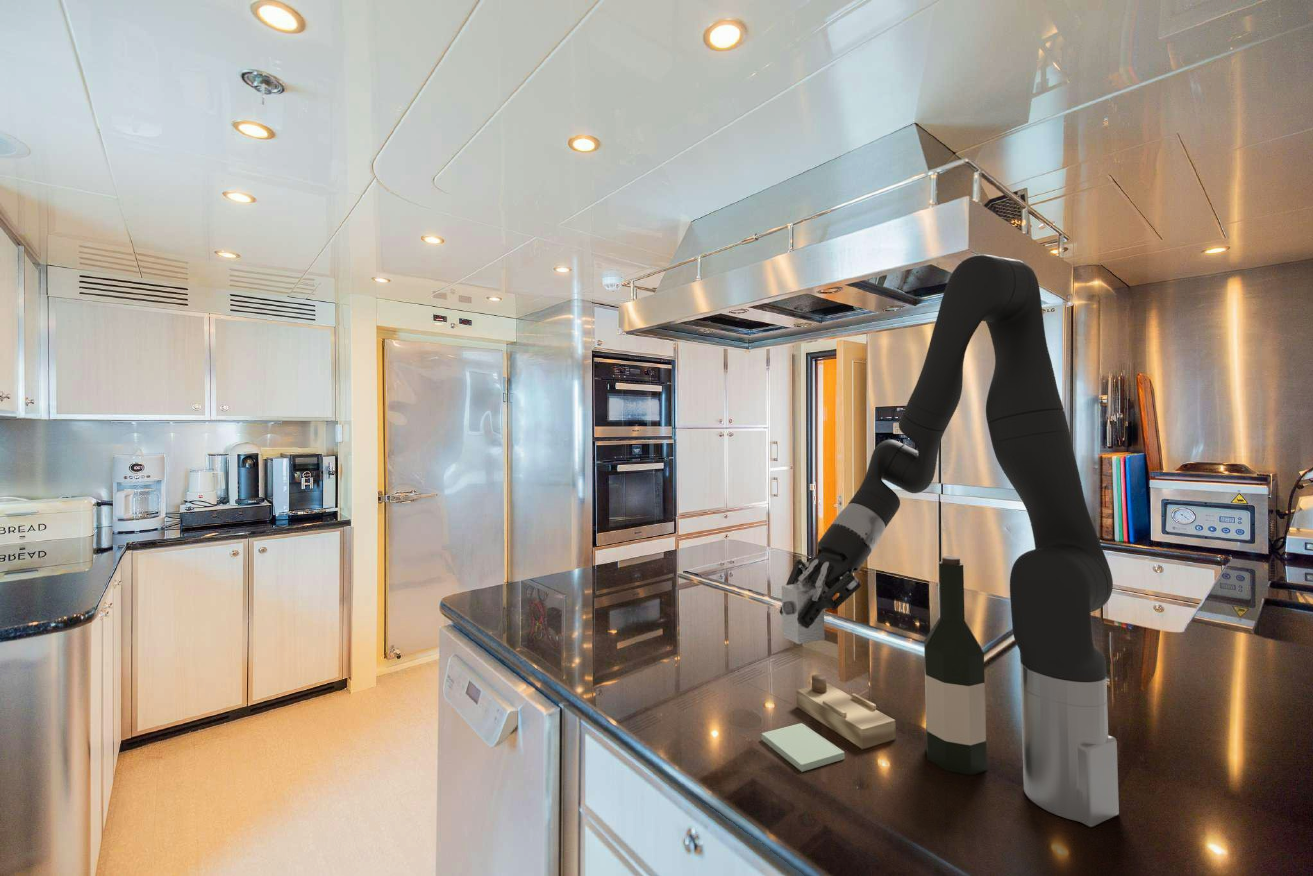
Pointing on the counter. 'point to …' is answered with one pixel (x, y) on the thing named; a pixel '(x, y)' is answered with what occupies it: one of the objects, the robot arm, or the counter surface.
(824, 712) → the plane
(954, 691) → the wine bottle
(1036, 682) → the robot arm
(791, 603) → the grey upright block
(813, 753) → the pad
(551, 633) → the counter surface
